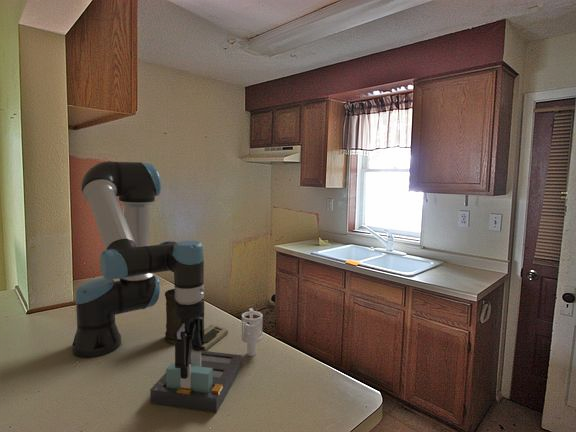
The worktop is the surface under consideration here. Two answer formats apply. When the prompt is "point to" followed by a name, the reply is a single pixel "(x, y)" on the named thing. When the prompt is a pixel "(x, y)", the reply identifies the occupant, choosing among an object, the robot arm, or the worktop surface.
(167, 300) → the container
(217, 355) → the rack
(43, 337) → the worktop surface
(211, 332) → the computer
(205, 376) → the panel
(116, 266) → the robot arm
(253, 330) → the white ringed cylinder
